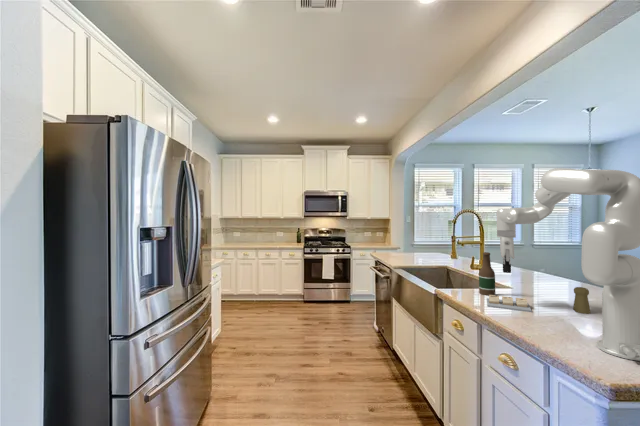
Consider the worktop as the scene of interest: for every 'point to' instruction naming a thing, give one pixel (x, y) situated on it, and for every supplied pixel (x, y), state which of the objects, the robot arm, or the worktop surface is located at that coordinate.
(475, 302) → the worktop surface
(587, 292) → the cork
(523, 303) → the key
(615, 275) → the robot arm
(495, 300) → the key
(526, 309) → the board
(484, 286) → the beer bottle
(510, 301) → the key
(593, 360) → the worktop surface
